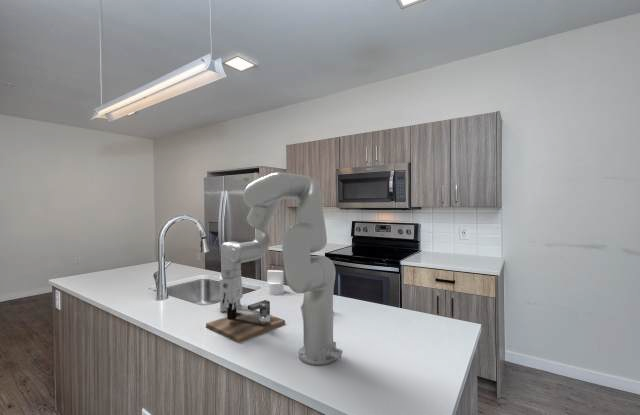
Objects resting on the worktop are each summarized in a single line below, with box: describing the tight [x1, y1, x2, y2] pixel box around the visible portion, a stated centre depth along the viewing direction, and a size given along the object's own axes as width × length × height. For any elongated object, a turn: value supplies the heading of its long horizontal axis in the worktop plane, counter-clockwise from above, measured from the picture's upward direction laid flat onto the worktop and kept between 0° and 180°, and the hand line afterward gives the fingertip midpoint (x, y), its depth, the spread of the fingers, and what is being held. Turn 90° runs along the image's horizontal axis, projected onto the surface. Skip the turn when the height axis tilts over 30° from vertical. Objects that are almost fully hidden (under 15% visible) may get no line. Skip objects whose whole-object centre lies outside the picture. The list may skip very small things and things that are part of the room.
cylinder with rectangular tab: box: [266, 269, 285, 296], centre depth 166 cm, size 9×9×12 cm
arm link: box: [236, 303, 271, 325], centre depth 121 cm, size 19×4×8 cm, turn 65°
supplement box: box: [219, 274, 241, 313], centre depth 142 cm, size 9×9×15 cm
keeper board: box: [205, 299, 286, 344], centre depth 121 cm, size 22×22×8 cm
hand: (231, 318), depth 121 cm, fingers closed
